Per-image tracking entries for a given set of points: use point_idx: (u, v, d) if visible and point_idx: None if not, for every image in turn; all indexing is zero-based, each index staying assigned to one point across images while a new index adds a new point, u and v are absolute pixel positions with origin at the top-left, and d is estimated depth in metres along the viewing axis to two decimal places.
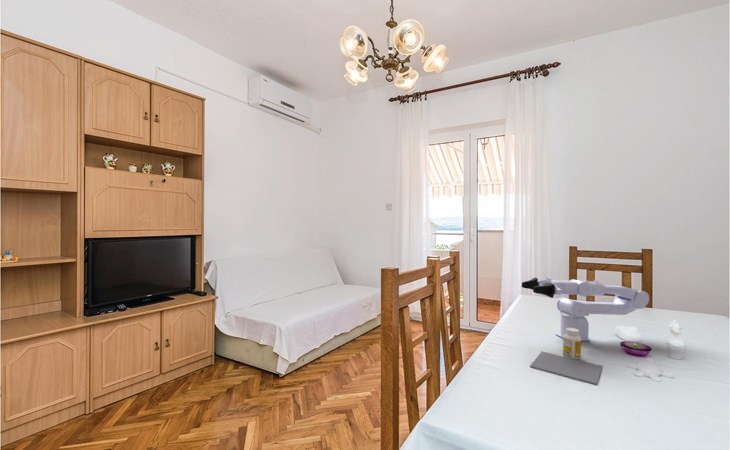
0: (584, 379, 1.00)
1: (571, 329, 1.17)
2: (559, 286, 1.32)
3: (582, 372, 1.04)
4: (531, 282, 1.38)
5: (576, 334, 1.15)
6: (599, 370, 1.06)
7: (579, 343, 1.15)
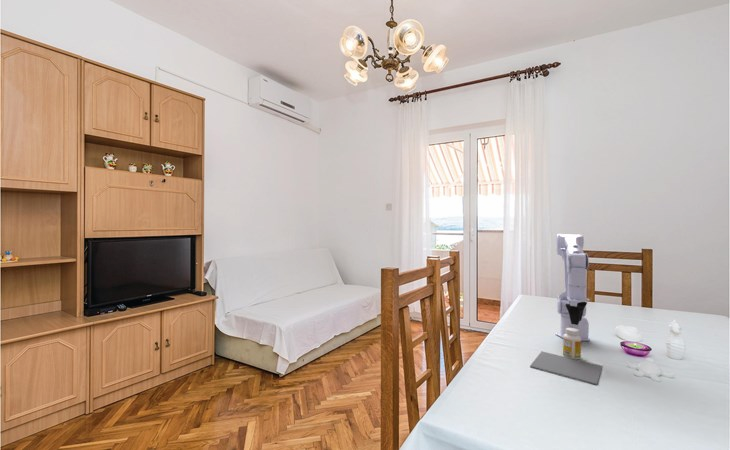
0: (584, 379, 1.00)
1: (571, 329, 1.17)
2: None
3: (582, 372, 1.04)
4: None
5: (576, 334, 1.15)
6: (599, 370, 1.06)
7: (579, 343, 1.15)
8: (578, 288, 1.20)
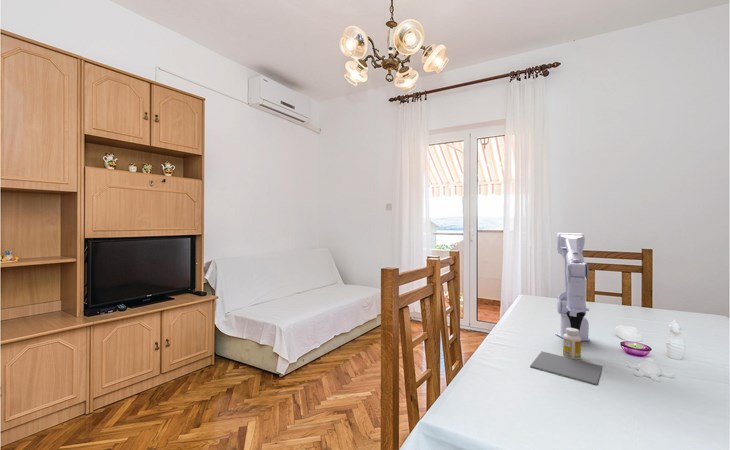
0: (584, 379, 1.00)
1: (571, 329, 1.17)
2: None
3: (582, 372, 1.04)
4: None
5: (576, 334, 1.15)
6: (599, 370, 1.06)
7: (579, 343, 1.15)
8: (578, 298, 1.20)
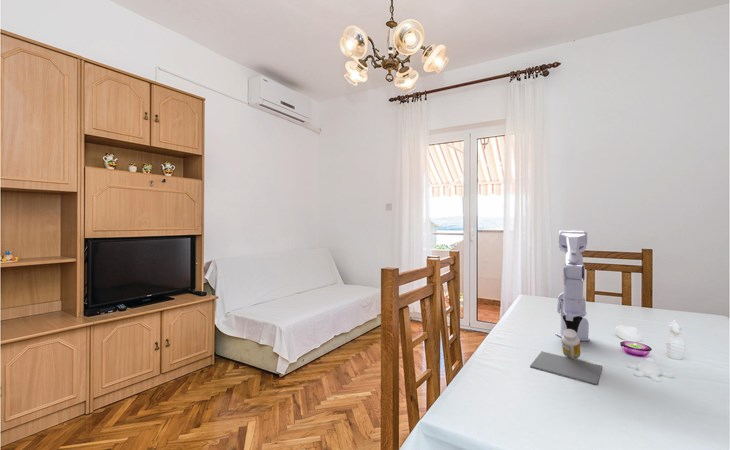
0: (584, 379, 1.00)
1: (569, 333, 1.13)
2: None
3: (582, 372, 1.04)
4: None
5: (574, 339, 1.12)
6: (599, 370, 1.06)
7: (578, 346, 1.13)
8: (574, 301, 1.14)
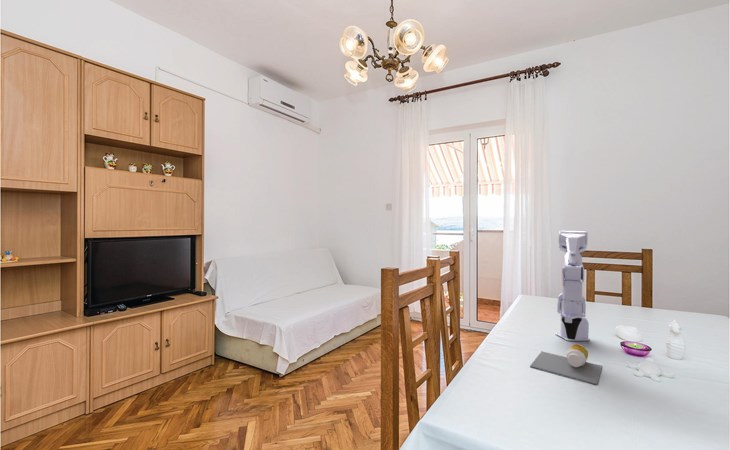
0: (584, 379, 1.00)
1: (573, 360, 1.07)
2: None
3: (582, 372, 1.04)
4: None
5: None
6: (599, 370, 1.06)
7: None
8: (573, 303, 1.13)
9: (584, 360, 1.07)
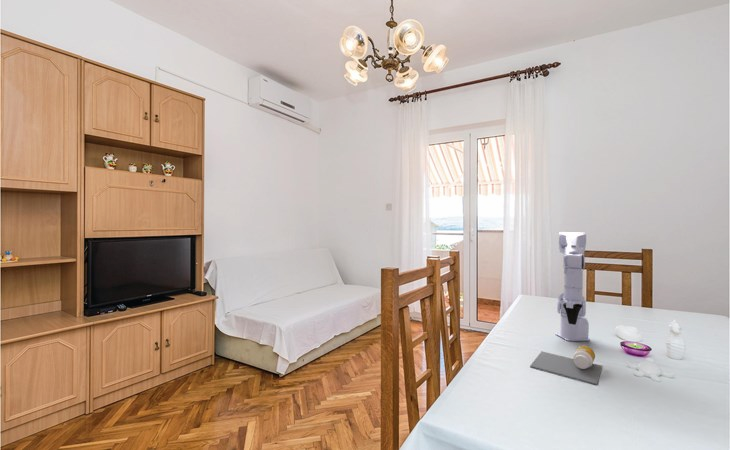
0: (584, 379, 1.00)
1: (580, 361, 1.05)
2: None
3: (582, 372, 1.04)
4: None
5: None
6: (599, 370, 1.06)
7: None
8: (574, 289, 1.19)
9: (589, 366, 1.06)
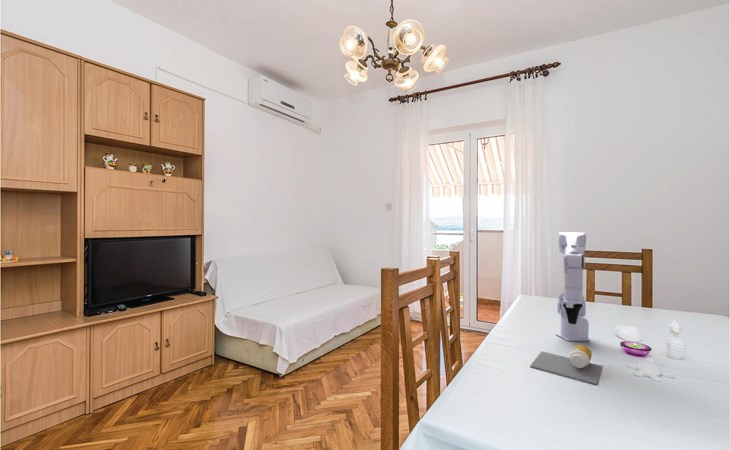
0: (584, 379, 1.00)
1: (576, 361, 1.06)
2: None
3: (582, 372, 1.04)
4: None
5: None
6: (599, 370, 1.06)
7: None
8: (574, 289, 1.19)
9: (587, 363, 1.06)
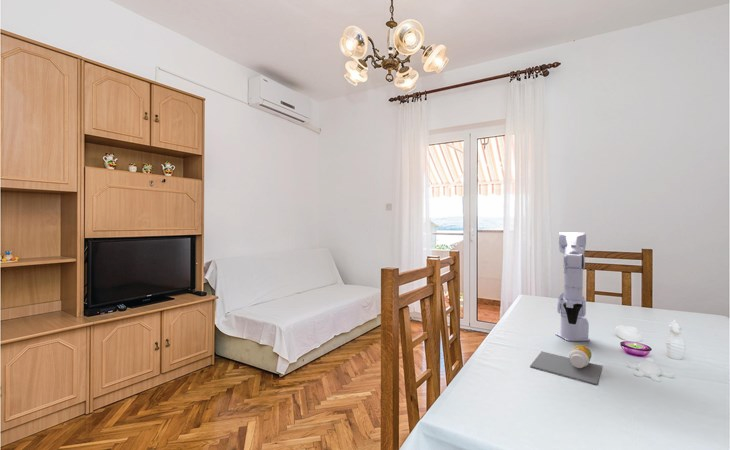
0: (584, 379, 1.00)
1: (576, 361, 1.06)
2: None
3: (582, 372, 1.04)
4: None
5: None
6: (599, 370, 1.06)
7: None
8: (574, 289, 1.19)
9: (587, 363, 1.06)
